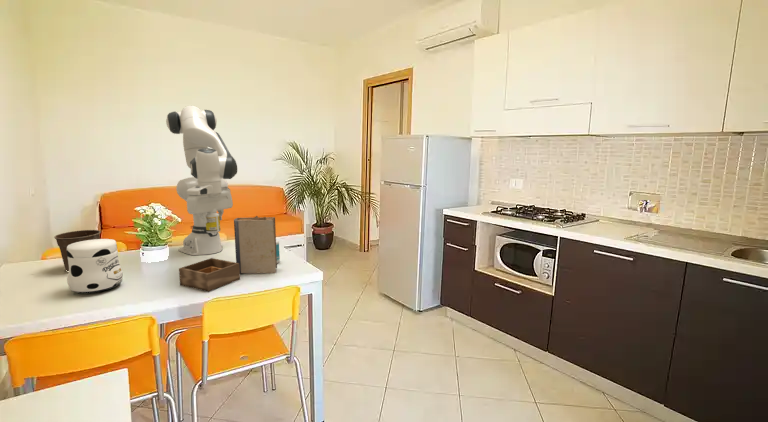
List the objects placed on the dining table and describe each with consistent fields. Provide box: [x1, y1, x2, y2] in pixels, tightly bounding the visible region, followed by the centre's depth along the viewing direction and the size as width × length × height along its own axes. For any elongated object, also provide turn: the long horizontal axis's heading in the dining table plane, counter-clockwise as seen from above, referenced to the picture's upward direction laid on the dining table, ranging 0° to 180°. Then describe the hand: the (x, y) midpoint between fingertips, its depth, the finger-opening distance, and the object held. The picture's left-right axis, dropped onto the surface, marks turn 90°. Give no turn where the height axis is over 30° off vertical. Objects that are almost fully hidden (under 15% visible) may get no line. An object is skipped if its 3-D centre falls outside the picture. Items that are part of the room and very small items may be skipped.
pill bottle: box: [276, 238, 281, 264], centre depth 188 cm, size 8×7×14 cm
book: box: [233, 215, 278, 274], centre depth 174 cm, size 17×7×25 cm, turn 99°
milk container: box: [66, 238, 124, 294], centre depth 153 cm, size 17×17×18 cm
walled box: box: [178, 257, 241, 293], centre depth 162 cm, size 16×16×7 cm
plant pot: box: [53, 229, 102, 271], centre depth 176 cm, size 16×16×16 cm
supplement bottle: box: [205, 209, 221, 233], centre depth 164 cm, size 5×5×10 cm
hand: (212, 221), depth 164 cm, fingers closed on supplement bottle, 5 cm apart
